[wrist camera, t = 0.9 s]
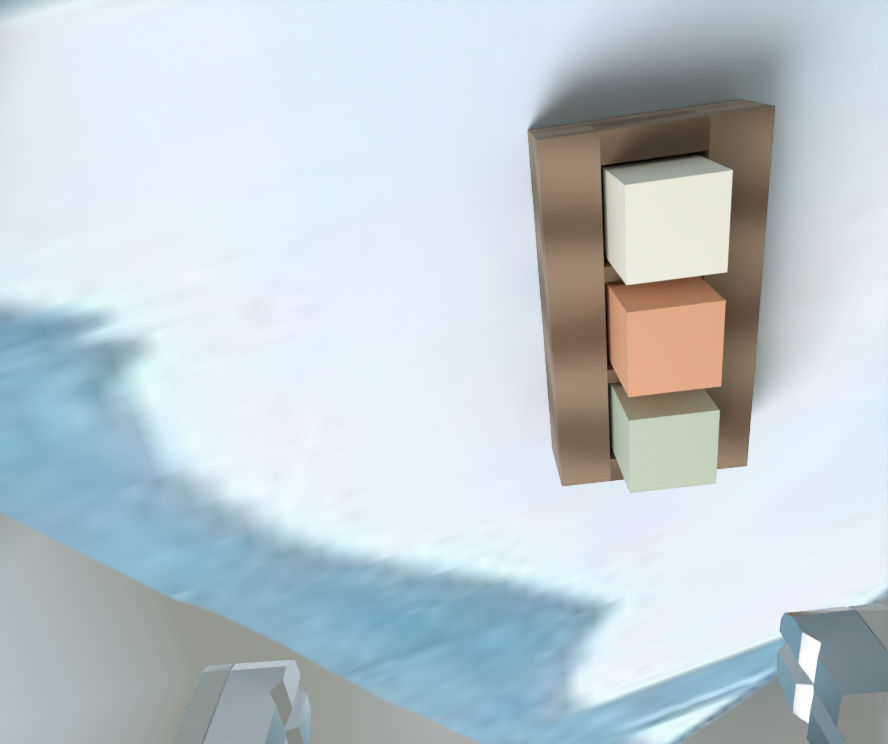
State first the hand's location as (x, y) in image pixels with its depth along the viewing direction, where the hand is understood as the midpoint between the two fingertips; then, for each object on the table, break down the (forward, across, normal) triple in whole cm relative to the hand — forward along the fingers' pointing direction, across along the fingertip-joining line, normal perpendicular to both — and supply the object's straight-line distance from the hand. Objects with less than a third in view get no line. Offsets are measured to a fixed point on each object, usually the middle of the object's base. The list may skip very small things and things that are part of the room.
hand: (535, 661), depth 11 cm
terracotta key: (+29, -10, +6) cm, 31 cm away
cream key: (+29, -10, -1) cm, 31 cm away
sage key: (+30, -10, +12) cm, 33 cm away
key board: (+33, -10, +6) cm, 35 cm away
